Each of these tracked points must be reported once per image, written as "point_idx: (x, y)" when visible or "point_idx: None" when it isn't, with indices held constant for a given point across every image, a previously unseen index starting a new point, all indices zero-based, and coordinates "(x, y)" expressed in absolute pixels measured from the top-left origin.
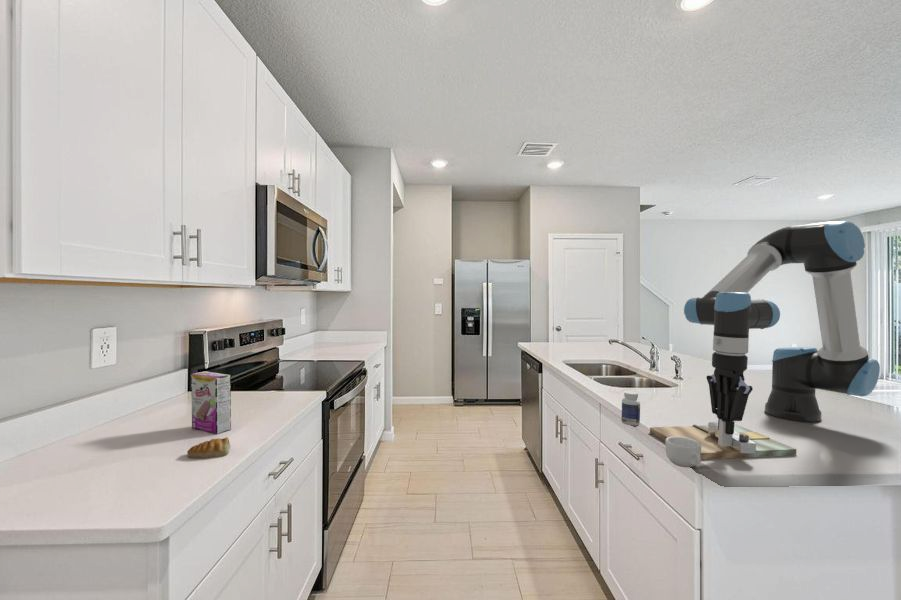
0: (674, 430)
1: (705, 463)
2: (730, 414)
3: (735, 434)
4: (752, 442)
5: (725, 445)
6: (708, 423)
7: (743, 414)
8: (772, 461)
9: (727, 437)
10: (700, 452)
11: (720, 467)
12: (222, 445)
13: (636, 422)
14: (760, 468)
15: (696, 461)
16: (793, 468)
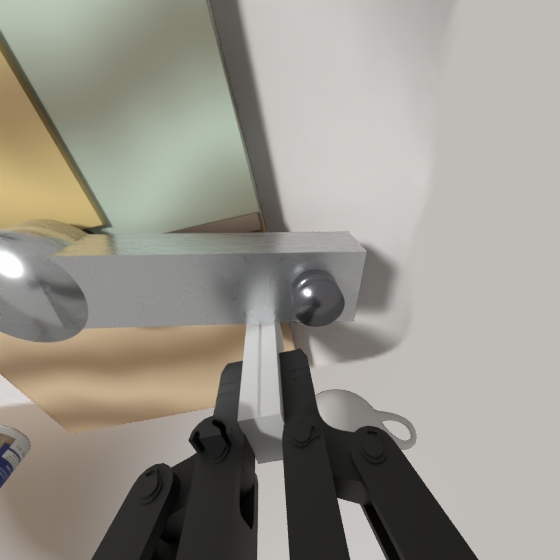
0: (65, 385)
1: (328, 362)
2: (376, 535)
3: (211, 285)
4: (350, 263)
5: (279, 325)
6: (22, 338)
7: (442, 510)
8: (299, 103)
9: (281, 346)
10: (369, 421)
11: (358, 339)
12: None
13: (12, 442)
14: (376, 221)
15: (375, 411)
16: (392, 37)
